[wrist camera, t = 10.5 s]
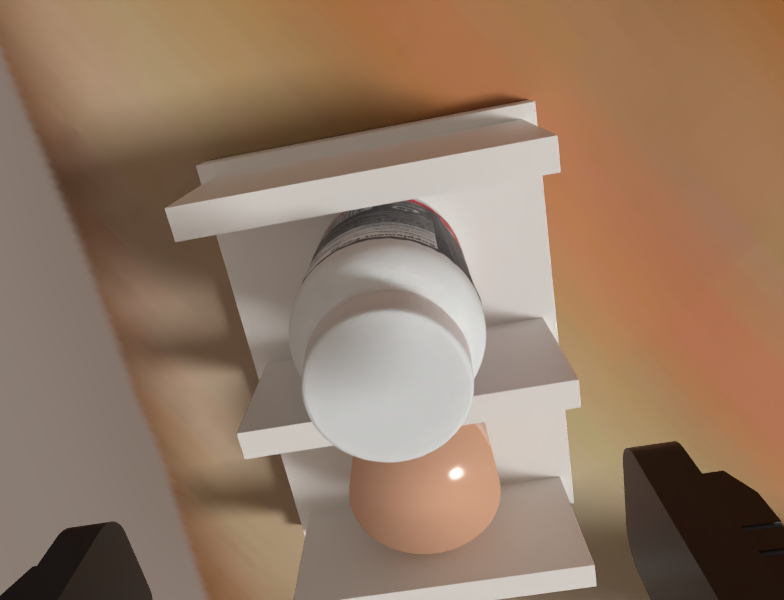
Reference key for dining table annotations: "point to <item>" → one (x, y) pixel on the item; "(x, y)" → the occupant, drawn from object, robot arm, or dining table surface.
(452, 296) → the pill bottle
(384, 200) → the rack
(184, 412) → the dining table surface
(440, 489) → the peach glossy dome
